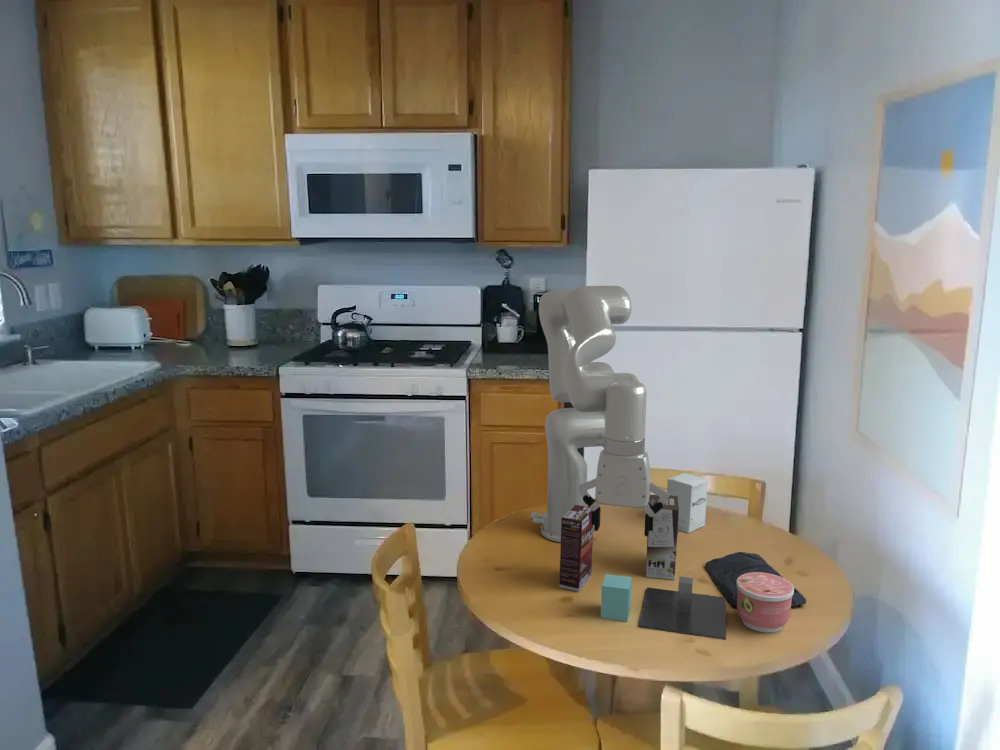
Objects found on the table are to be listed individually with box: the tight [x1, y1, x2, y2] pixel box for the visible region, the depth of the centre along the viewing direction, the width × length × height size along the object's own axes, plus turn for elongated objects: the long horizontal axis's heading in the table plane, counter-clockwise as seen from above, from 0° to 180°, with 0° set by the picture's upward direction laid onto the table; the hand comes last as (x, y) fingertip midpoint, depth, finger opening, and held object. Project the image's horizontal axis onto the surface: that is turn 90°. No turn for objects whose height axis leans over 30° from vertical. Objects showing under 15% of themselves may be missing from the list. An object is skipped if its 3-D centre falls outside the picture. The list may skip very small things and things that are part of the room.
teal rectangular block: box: [600, 573, 633, 623], centre depth 155 cm, size 5×5×7 cm
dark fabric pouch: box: [704, 551, 807, 609], centre depth 167 cm, size 15×22×5 cm
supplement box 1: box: [558, 505, 594, 593], centre depth 167 cm, size 9×5×16 cm, turn 155°
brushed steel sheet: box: [638, 575, 727, 640], centre depth 155 cm, size 16×16×7 cm
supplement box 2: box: [666, 472, 709, 534], centre depth 198 cm, size 7×7×13 cm
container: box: [736, 572, 795, 633], centre depth 152 cm, size 10×10×8 cm
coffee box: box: [645, 493, 679, 581], centre depth 173 cm, size 9×6×16 cm
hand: (621, 531), depth 152 cm, fingers open, 9 cm apart
